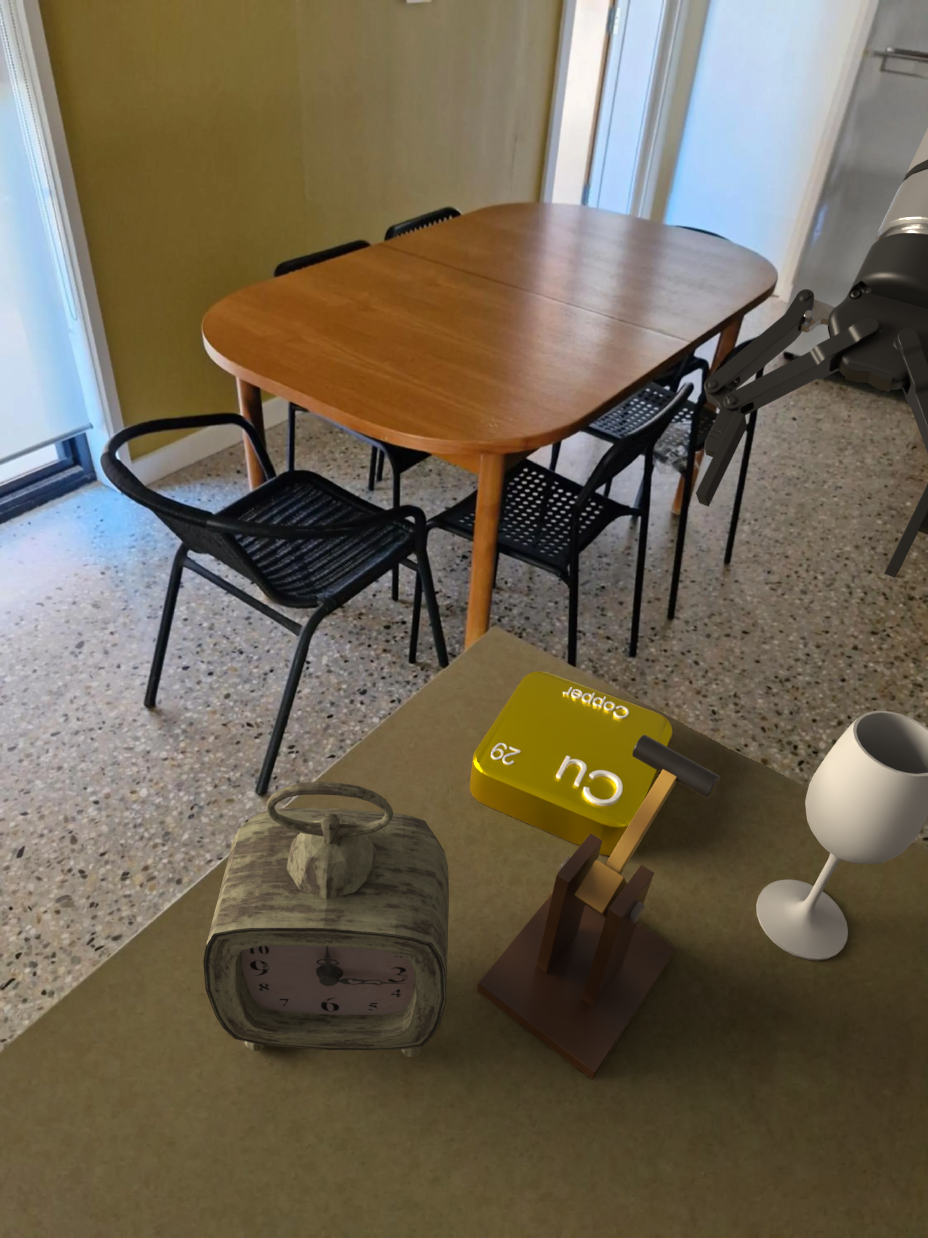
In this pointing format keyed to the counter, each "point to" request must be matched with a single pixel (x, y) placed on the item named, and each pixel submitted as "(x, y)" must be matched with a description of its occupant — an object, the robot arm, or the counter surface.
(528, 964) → the wooden lever stand
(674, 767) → the lever
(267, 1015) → the tabletop clock
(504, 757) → the element tile
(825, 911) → the wineglass
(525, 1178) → the counter surface
